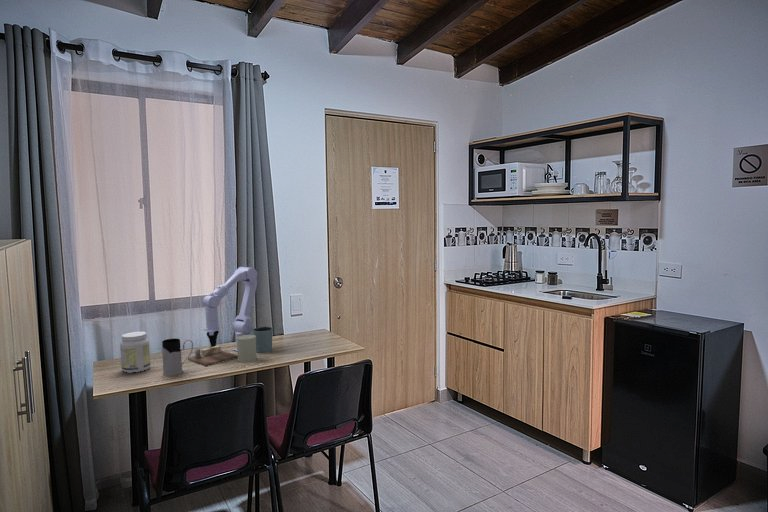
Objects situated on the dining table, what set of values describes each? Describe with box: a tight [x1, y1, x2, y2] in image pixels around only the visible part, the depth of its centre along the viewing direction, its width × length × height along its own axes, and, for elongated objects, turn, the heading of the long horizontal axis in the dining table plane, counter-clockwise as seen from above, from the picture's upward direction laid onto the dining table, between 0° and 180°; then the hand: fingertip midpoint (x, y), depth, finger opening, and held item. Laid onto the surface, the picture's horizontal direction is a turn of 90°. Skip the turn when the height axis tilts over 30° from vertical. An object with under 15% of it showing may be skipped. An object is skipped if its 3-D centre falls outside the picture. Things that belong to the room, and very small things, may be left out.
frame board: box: [187, 345, 238, 367], centre depth 245 cm, size 18×17×5 cm
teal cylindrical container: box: [252, 326, 274, 354], centre depth 257 cm, size 10×10×12 cm
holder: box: [161, 338, 194, 377], centre depth 226 cm, size 9×14×15 cm, turn 134°
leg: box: [200, 345, 222, 356], centre depth 250 cm, size 10×2×3 cm, turn 140°
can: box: [237, 335, 258, 363], centre depth 242 cm, size 9×9×12 cm
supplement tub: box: [119, 331, 152, 374], centre depth 230 cm, size 12×12×17 cm
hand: (213, 346), depth 246 cm, fingers closed
